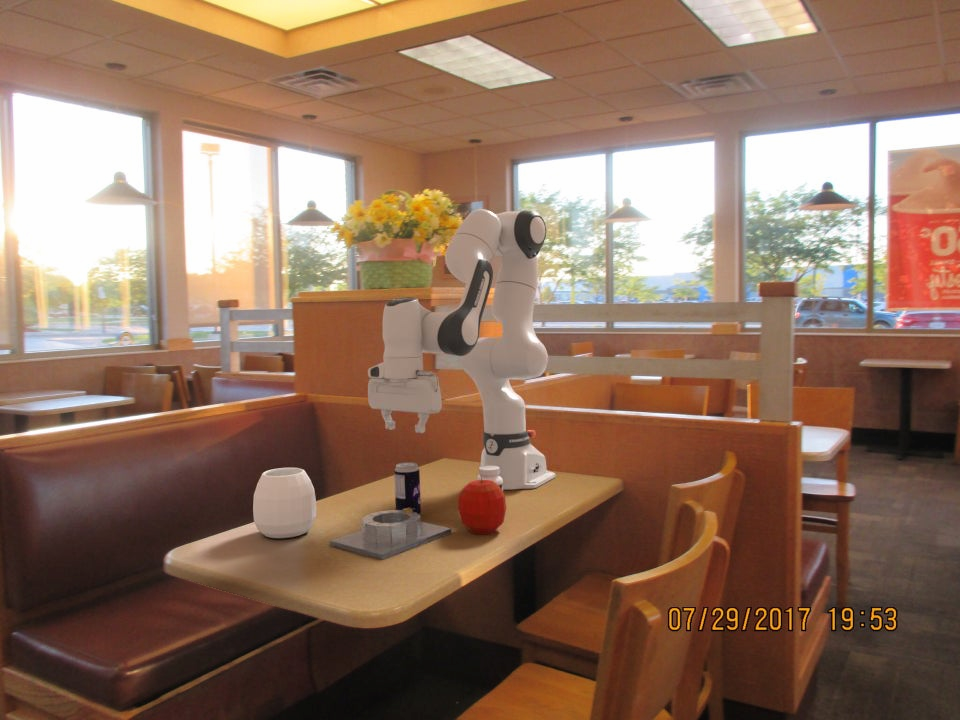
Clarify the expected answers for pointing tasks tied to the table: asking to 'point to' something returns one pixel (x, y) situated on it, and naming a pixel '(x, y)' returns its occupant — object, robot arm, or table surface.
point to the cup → (284, 503)
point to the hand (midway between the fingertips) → (405, 430)
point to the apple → (482, 506)
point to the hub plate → (388, 548)
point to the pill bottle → (490, 474)
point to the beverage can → (407, 487)
